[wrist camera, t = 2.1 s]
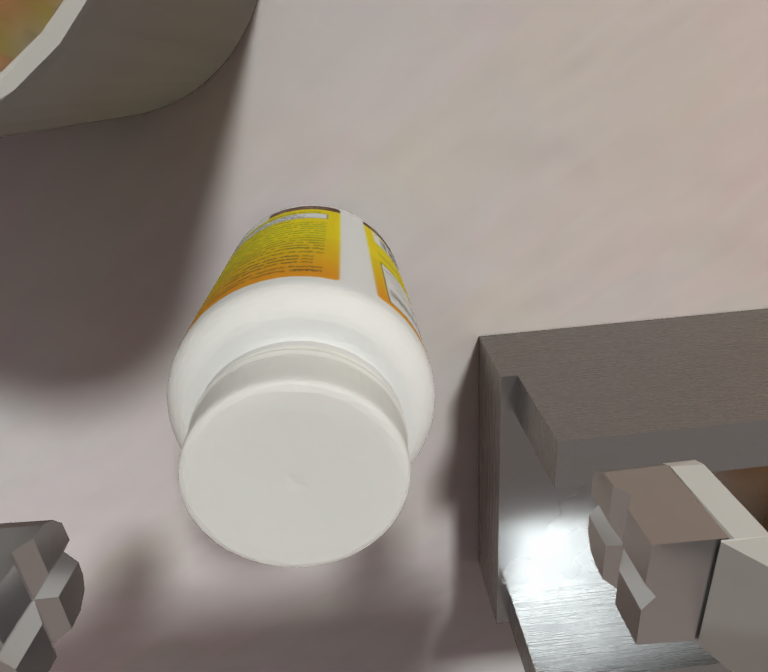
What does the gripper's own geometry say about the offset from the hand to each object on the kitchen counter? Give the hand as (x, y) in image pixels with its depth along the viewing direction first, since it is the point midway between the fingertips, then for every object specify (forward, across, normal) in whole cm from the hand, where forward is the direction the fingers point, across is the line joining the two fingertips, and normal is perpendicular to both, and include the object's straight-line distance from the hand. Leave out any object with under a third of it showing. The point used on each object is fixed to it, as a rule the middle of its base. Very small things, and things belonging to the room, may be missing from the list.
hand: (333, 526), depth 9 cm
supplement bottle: (+11, +1, 0) cm, 11 cm away
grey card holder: (+12, -11, +8) cm, 18 cm away
